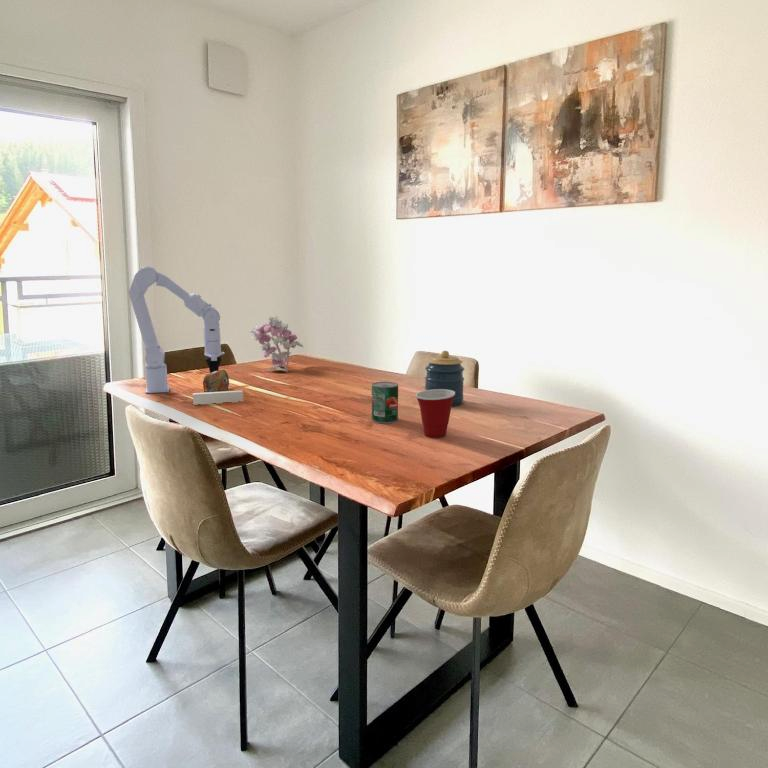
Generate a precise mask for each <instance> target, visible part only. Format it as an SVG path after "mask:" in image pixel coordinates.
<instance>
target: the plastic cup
mask: <svg viewBox="0 0 768 768" xmlns="http://www.w3.org/2000/svg"><path fill="white" fill-rule="evenodd" d="M454 395H455V392H454V391H452V390H447V389H433V390H425V389H424V390H421V391H418V392H416V393H415V395H414V397H415V398H416V399H417V402H418V405H419V410H420V417H421V422H422V426H423V427H422V428H423V433H424V436H426V437H428V438H433V439H435V438H437V439H439V438H444V437H445V436H446V434H447V430H448V425H449V423H450V422H449V420H450V415H451V410H452V406H451V405H452V401H453V397H454Z"/></svg>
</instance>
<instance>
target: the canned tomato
mask: <svg viewBox="0 0 768 768" xmlns="http://www.w3.org/2000/svg"><path fill="white" fill-rule="evenodd" d="M371 421H372V422H373V423H375V424H393V423H397V422H398V421H399V383H397V382H395V381H394V382H392V381H376V382H373V383H371Z"/></svg>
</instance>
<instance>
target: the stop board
mask: <svg viewBox="0 0 768 768" xmlns="http://www.w3.org/2000/svg"><path fill="white" fill-rule="evenodd" d="M192 401H193V402H192V403H193V406H198V404H201V405H212V403H216V404H224V403H223V402H232V403H237V402H236V401H243V402H244V391H243V390H240V389H239V390H227V391H223V392H206V393H204V392H194V393H192Z"/></svg>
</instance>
